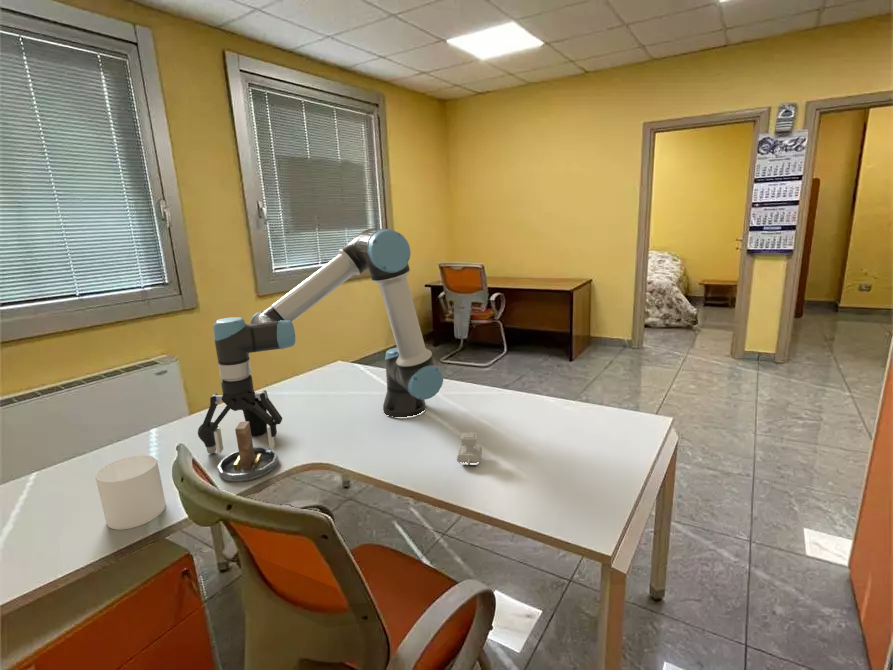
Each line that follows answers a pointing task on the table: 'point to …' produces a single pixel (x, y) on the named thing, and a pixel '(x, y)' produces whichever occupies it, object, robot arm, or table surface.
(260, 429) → the cup
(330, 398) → the table surface
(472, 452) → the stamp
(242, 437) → the tapered wood plank
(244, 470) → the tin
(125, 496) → the cup
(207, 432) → the light bulb
